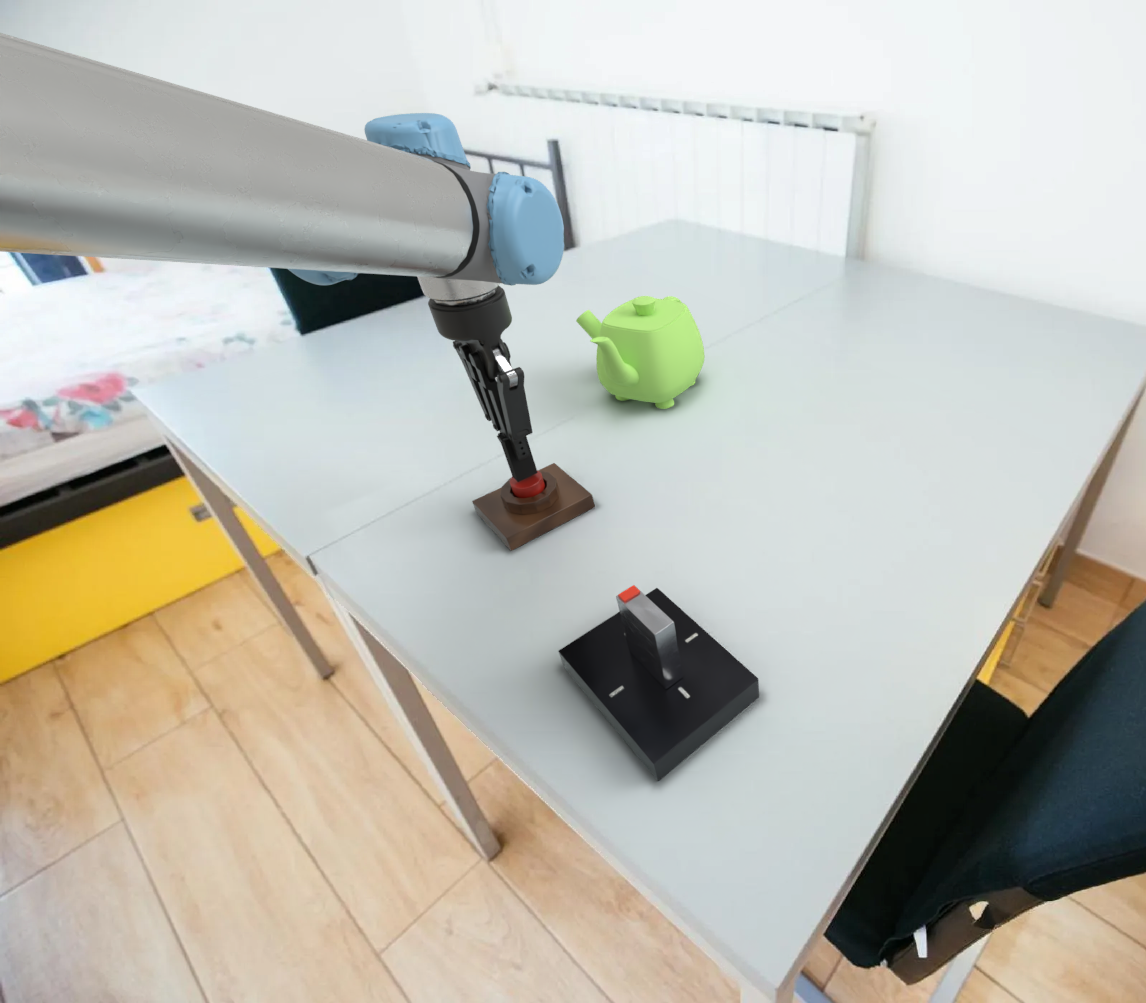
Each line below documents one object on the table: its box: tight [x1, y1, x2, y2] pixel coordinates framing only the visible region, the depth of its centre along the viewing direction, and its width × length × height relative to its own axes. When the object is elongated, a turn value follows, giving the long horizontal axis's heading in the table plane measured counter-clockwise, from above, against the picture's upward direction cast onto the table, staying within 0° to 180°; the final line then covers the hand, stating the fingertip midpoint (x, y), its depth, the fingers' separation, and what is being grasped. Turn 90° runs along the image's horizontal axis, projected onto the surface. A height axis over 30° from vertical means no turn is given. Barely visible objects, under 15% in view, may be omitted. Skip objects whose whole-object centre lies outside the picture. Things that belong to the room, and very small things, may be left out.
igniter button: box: [509, 471, 545, 498], centre depth 79 cm, size 4×4×2 cm
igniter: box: [471, 462, 596, 551], centre depth 81 cm, size 12×10×4 cm
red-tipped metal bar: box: [615, 584, 683, 689], centre depth 57 cm, size 6×2×8 cm, turn 43°
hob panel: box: [557, 587, 760, 782], centre depth 60 cm, size 12×16×3 cm
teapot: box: [575, 295, 706, 410], centre depth 101 cm, size 25×22×16 cm
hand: (525, 474), depth 78 cm, fingers closed
